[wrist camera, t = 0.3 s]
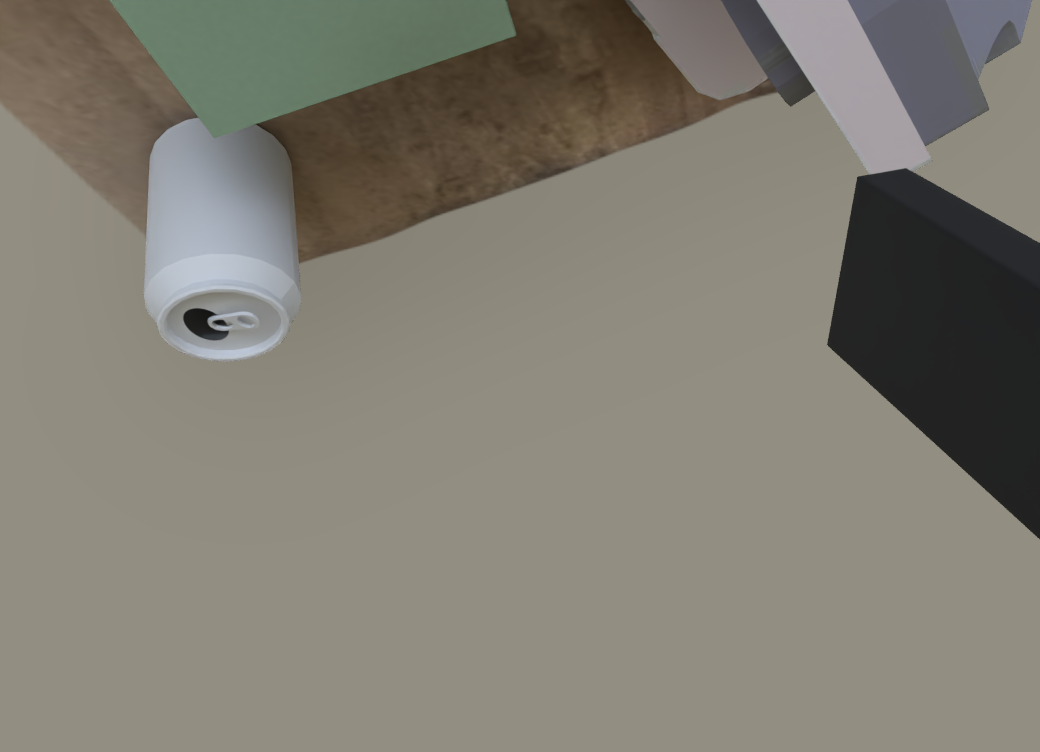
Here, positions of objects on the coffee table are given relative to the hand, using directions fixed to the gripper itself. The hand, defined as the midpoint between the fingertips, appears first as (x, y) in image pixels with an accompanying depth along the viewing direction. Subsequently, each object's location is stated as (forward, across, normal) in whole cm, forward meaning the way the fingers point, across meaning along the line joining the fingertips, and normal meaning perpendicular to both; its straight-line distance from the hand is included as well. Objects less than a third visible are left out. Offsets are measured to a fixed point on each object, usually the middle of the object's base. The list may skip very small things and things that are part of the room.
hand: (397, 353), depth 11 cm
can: (+41, -4, -11) cm, 43 cm away
